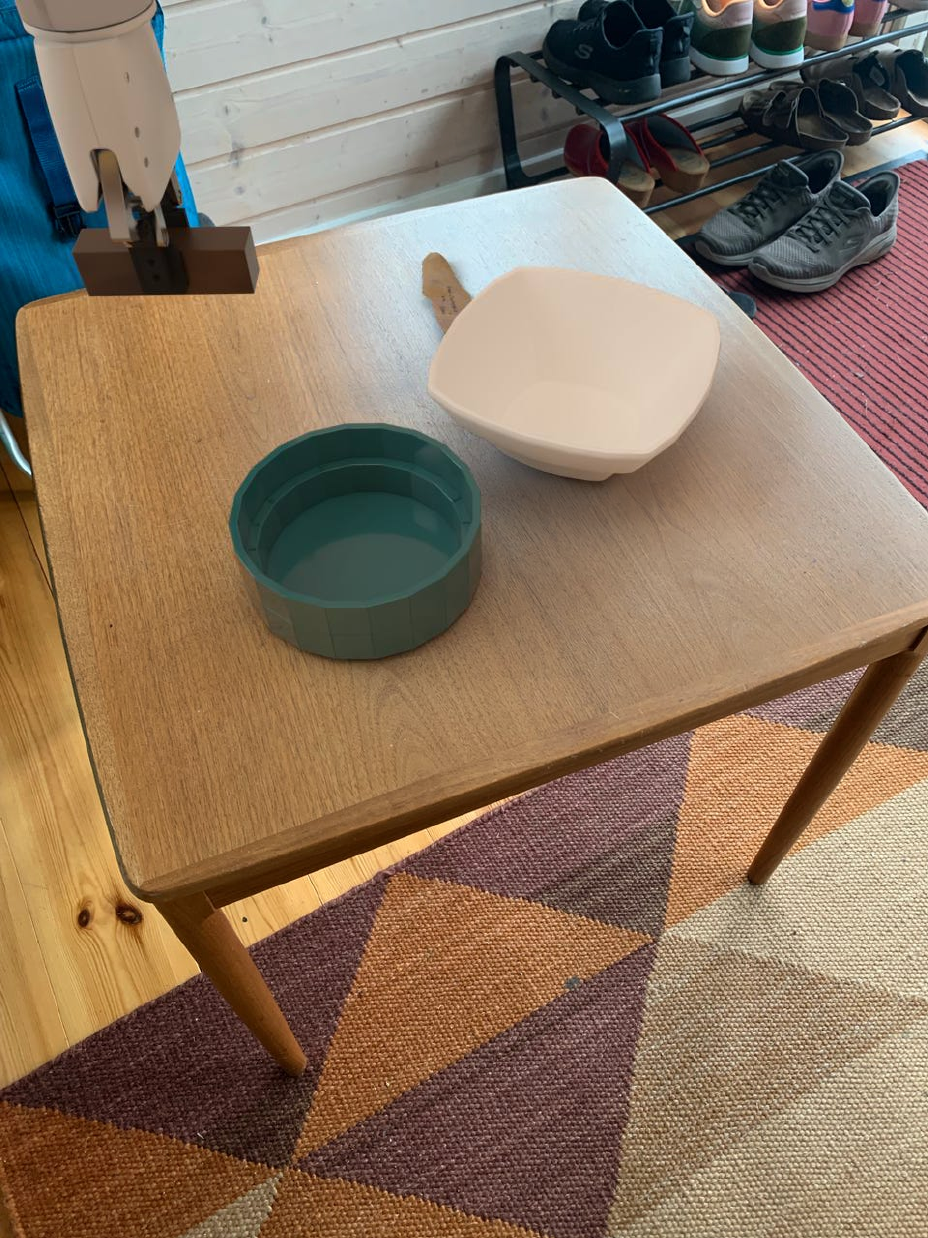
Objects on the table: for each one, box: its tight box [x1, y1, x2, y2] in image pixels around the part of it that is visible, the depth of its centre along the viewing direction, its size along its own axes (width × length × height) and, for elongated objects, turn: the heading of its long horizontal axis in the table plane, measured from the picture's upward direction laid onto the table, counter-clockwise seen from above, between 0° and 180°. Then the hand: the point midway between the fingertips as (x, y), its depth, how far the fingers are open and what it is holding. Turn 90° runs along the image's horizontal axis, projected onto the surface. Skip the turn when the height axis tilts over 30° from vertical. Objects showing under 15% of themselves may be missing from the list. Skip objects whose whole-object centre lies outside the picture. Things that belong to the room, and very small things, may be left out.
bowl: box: [426, 265, 723, 482], centre depth 73 cm, size 21×21×9 cm
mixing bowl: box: [228, 422, 482, 660], centre depth 66 cm, size 17×17×6 cm
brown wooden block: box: [71, 225, 261, 297], centre depth 66 cm, size 12×3×4 cm, turn 90°
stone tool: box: [421, 251, 472, 335], centre depth 87 cm, size 5×2×15 cm
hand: (171, 274), depth 67 cm, fingers closed on brown wooden block, 3 cm apart
